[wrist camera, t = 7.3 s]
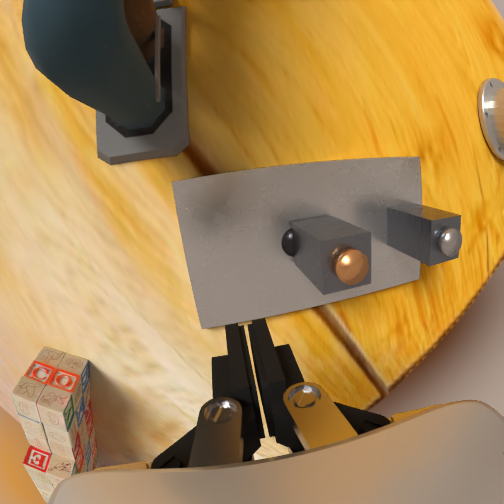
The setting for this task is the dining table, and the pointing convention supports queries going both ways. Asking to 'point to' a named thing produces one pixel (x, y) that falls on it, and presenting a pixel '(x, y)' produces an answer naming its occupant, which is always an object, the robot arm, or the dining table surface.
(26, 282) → the dining table surface
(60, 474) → the stack of blocks
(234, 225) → the hole plate
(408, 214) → the fixed leg
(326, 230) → the block
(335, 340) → the dining table surface
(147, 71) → the curved pipe assembly
